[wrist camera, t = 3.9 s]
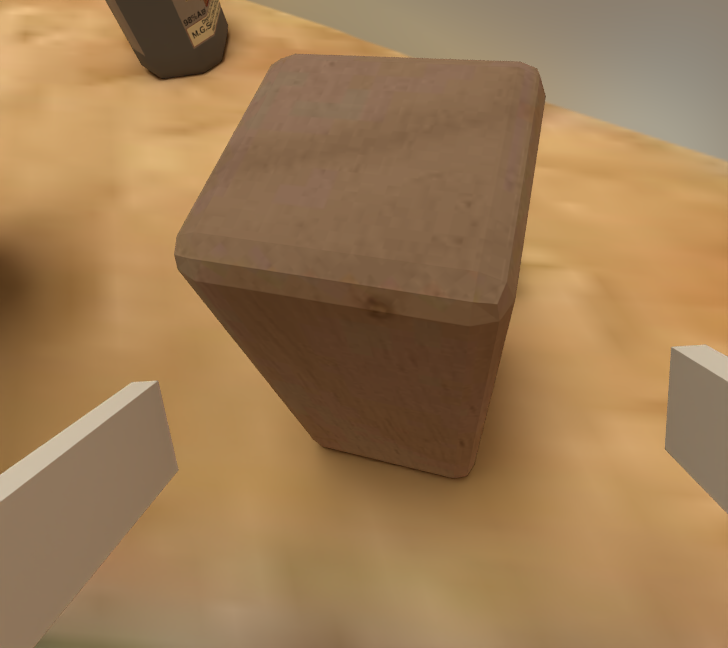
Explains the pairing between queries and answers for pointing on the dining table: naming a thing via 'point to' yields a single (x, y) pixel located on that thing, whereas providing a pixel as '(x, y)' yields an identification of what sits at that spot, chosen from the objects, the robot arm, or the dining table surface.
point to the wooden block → (374, 245)
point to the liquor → (173, 34)
